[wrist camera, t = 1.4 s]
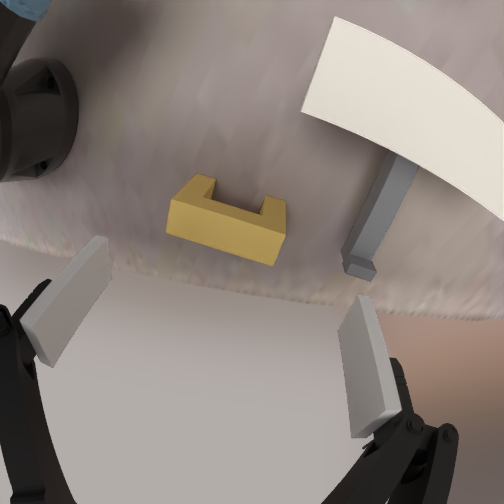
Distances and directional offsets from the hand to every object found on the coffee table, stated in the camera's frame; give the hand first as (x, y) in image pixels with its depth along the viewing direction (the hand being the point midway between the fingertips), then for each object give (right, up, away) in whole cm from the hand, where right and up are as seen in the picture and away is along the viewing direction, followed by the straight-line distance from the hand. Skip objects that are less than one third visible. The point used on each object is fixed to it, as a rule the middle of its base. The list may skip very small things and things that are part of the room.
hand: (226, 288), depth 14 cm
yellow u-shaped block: (0, +7, +14) cm, 15 cm away
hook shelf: (+13, +10, +10) cm, 19 cm away
